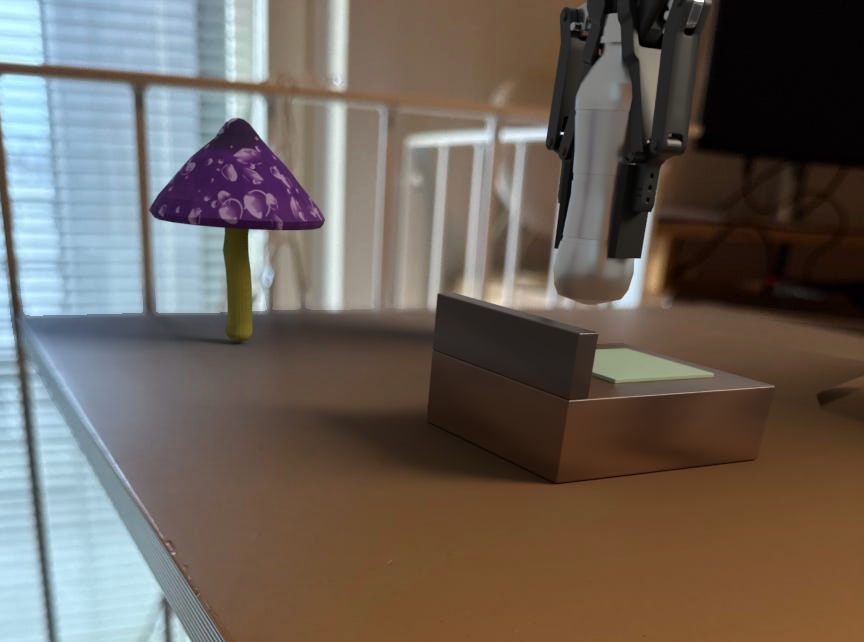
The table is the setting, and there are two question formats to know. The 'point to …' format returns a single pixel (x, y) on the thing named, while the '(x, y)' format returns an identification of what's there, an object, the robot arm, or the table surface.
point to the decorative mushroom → (237, 205)
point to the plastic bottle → (597, 180)
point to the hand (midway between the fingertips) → (596, 252)
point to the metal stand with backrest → (583, 397)
